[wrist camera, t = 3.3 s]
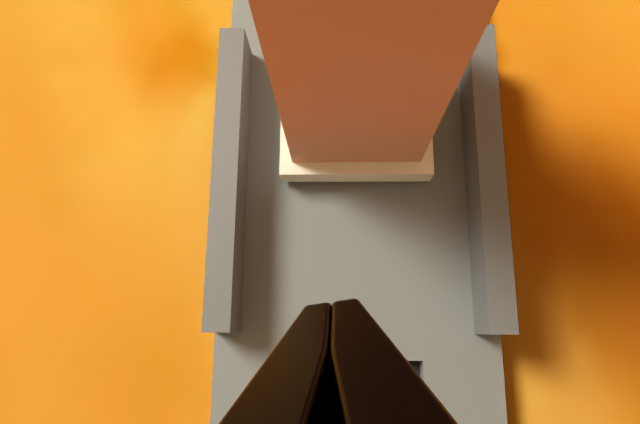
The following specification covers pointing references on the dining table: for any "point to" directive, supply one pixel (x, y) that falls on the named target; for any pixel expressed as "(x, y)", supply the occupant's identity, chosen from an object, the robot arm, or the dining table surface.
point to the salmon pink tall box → (364, 82)
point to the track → (361, 239)
